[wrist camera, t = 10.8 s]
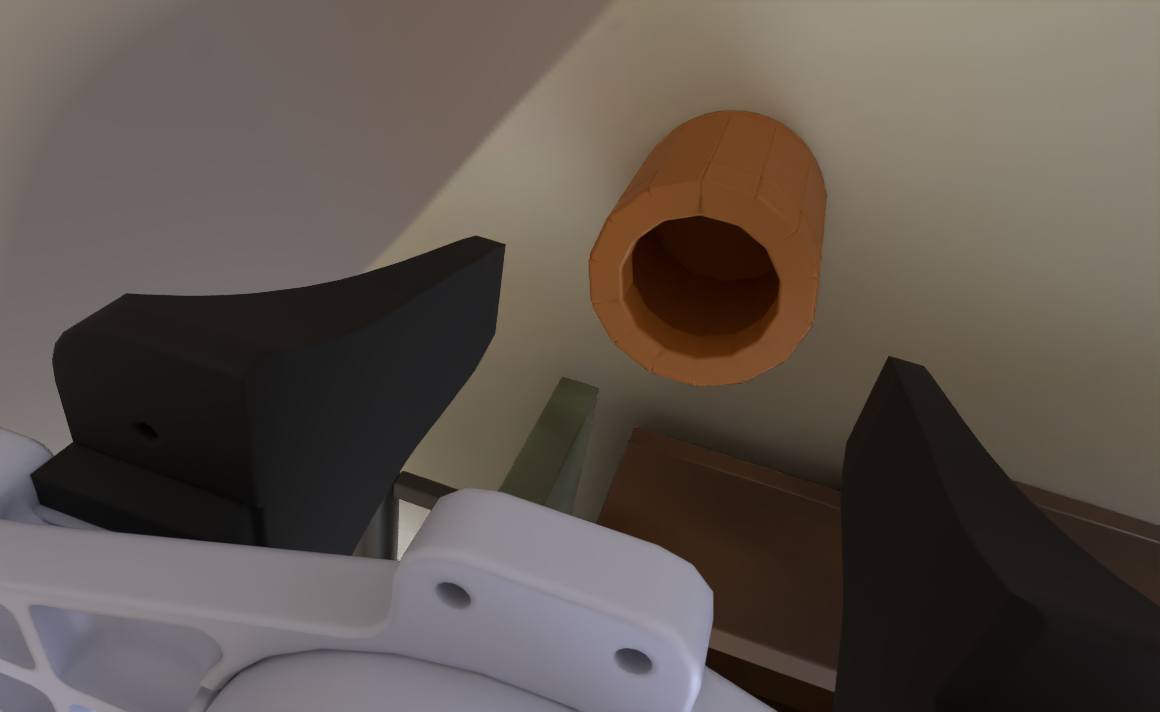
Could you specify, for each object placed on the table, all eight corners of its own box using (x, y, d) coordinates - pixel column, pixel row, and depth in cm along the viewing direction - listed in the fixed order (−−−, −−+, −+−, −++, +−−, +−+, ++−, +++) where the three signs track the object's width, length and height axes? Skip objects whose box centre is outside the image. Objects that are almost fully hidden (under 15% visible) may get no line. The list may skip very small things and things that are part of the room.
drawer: (402, 564, 31) (307, 713, 25) (412, 328, 24) (286, 462, 19) (868, 734, 28) (871, 941, 23) (1022, 520, 21) (1077, 741, 16)
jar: (660, 88, 19) (607, 152, 15) (856, 138, 18) (855, 219, 14) (623, 256, 22) (570, 349, 18) (793, 305, 21) (777, 413, 17)
